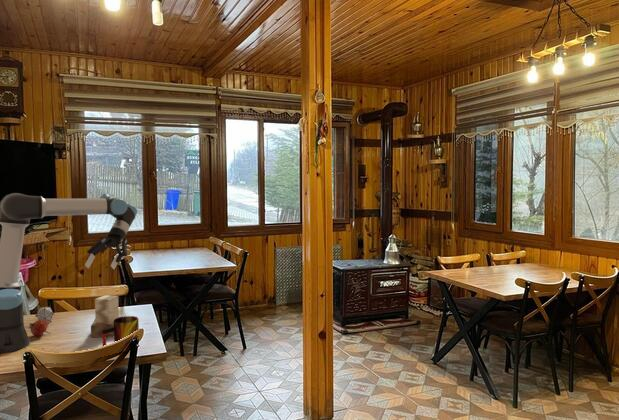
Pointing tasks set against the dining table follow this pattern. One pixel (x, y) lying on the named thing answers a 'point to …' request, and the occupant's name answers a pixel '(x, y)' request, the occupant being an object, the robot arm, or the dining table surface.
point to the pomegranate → (39, 327)
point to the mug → (122, 328)
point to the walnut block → (100, 329)
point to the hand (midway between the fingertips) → (99, 267)
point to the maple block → (106, 309)
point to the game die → (45, 314)
